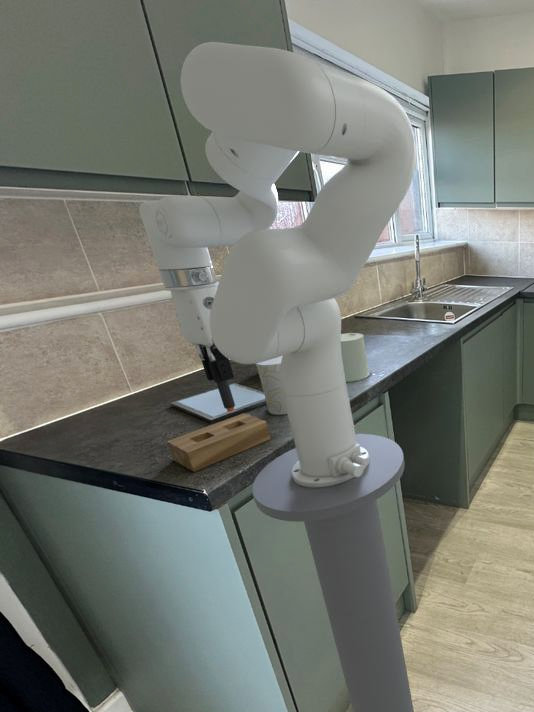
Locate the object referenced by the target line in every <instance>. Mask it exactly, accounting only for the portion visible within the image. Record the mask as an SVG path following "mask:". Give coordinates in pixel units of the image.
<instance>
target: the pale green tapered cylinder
mask: <svg viewBox="0 0 534 712" xmlns="http://www.w3.org/2000/svg"><path fill="white" fill-rule="evenodd" d="M364 337H365V336H364V334H363V333H360V332H347V333H341V354H342V362H343V368H344V374H345V379H346V383H351V382H358V381H361V380H365V379H366V378H368V377H369V376H370V375H371V373H370V369H369V364H368V363H369V362H368V358H367V351H366V345H365V338H364Z"/></svg>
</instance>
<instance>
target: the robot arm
mask: <svg viewBox="0 0 534 712" xmlns="http://www.w3.org/2000/svg"><path fill="white" fill-rule="evenodd" d="M180 91H181V93H182V98H183V100H184V103H185V105H186V107H187V110H188V111H189V113H190V115H191V116H192V117H193V118H194V119H195V120H196V121H197V122H198V123H199V124H200V125H201V126H202V127H204V128H205V129H207V130H209V131H211V133H210V134H209V136H208V137H207V139H206V142H205V148H204V151H205V156H206V159H207V161H208V163H209V165H210V166H211V168H212V169H213V171H215V173H216V174H217V175H218V176H219V177H220V178H221V179H222V180H223V181H224V182H225V183H226V184H228V185H230V186H231V187H233V188H234V189H236V190H237V191H238V193H236V195H234V196H233V197H230V196H229V197H228V196H211V195H210V196H208V195H207V196H205V195H196V196H195V195H168V196H164V197H161V198H160V199H158V200H148V201H144V202H142V203H141V204H140V205H139V208H138V211H139V216H140V218H141V221H142V224H143V225H142V226H143V227H144V230H145V233H146V236H147V239H148V242H149V245H150V248H151V251H152V254H153V257H154V261H155V263H156V266H157V269H158V272H159V275H160V278H161V281H162V284H163V287H164V290H165V291H168V292H169V291H170V295H171V299H172V303H173V307H174V311H175V314H176V315H175V316H176V318H177V321H178V324H179V328H180V329H181V333H182V335H183V338H184V339H185V341H187V342H190V343H191V344H192V345H193V346H195V348H196V350H197V353H198V356H199V359H200V360H201V364H202V366H203V367H202V368H203V370H204V373H205V376H206V379H207V380H208V381H214V383H216V382H217V383H219V382H222V381H225V380H228V381H229V380H232V379H234V378H235V375H234V371H233V368H232V364H231V362H234V363H237V364H241V365H254V364H255V363H260V362H264V361H267V360H271V359H274V358H277V357H280V356H283V357H282V360H281V365H280V372H279V379H280V385H281V389H282V394H283V398H284V402H285V406H286V410H287V414H286V415H287V418H288V422H289V426H290V430H291V434H292V438H293V442H294V447H295V448H296V451H297V455H298V459H299V460H298V461H297V462H296V463H295V465H294V466H293V468H292V470H291V474H292V478H293V480H294V481H295V482H296V483H297V484H299V485H301V486H304V487H310V488H319V487H328V486H333V485H336V484H340V483H343V482H345V481H348V480H350V479H352V478H354V477H359V476H361V475H362V474H363V471H364V469H365V468H366V467H367V466H368V464H369V462H370V460H369V454H368V452H367V450H366V449H364V448H362V447H360V445H359V444H357V440H356V434H357V433H356V429H355V423H354V419H353V413H352V408H351V402H350V397H349V391H348V386H347V382H346V379H345V374H344V368H343V362H342V354H341V334H342V315H341V310H340V307H339V304H338V302H337V300H336V298H339V297H342V296H343V295H345V294H347V293H348V292H349V291H350V290H351V289H352V287H353V286H354V284H355V283H356V281H357V279H358V278H359V276H360V274H361V272H362V271H363V269H364V268H365V265H366V263H367V261H368V259H369V258H370V257H371V254H372V252H373V251H374V249H375V248H376V245H377V243H378V241H379V239H380V238H381V235H382V234H383V233H384V230H385V229H386V227H387V225H388V224H389V222H390V220H391V219H392V218H393V216H394V214H395V213H396V212H397V210H398V209H399V207H400V206H401V204H402V202H403V201H404V199H405V197H406V195H407V193H408V191H409V189H410V187H411V185H412V182H413V179H414V175H415V171H416V164H417V144H416V137H415V133H414V129H413V125H412V123H411V121H410V118H409V115H408V114H407V112H406V111H405V109H404V107H403V106H402V104H401V103H400V102H399V101H398V100H397V99H396V98H395V97H394V96H393V95H391V94H390V93H389V92H388V91H386V90H385V89H383V88H382V87H380V86H379V85H377V84H375V83H373V82H371V81H368V80H367V79H364V78H362V77H359V76H357V75H355V74H352V73H349V72H346V71H343V70H340V69H338V68H336V67H333V66H330V65H327V64H325V63H323V62H320V61H318V60H315V59H313V58H310V57H307V56H306V55H301V54H299V53H296V52H294V51H289V50H286V49H281V48H276V47H269V46H260V45H259V46H257V45H256V46H255V45H247V44H237V43H228V42H221V41H219V42H218V41H209V42H208V41H207V42H203V43H201V44H198V45H195V47H194V48H193V49H191V51H190V52H189V53H188V55H186V56H185V59H184V62H183V64H182V67H181V71H180ZM299 153H305V154H310V155H311V154H312V155H318V156H324V157H330V158H336V159H343V160H347V161H346V164H345V165H344V166H343V167H342V168H341V169H340V170H339V171H338V172H336V173H335V174H334V175H333V176H332V177H330V178H329V179H328V180H327V182H325V184H323V186H322V187H321V188H320V190H319V191H318V193H317V195H316V196H315V199H314V201H313V204H312V207H311V209H310V210H309V211H310V212H308V215H307V217H306V218H305V220H304V221H303V222H302V223H301V224H300V225H296V226H294V227H288V228H287V227H286V228H285V227H284V228H271V226H272V225H273V224H274V223H275V221H276V219H277V216H278V212H279V211H278V210H279V196H278V191H277V188H276V185H275V183H276V182H277V180H278V179H280V177H281V175H282V174H283V173H284V171H286V169H287V168H288V167H289V165H290V164H291V163H292V161H294V159H295V158H296V157H297V156H298V154H299ZM214 247H216V248H217V247H231V248H230V250H229V252H228V255H227V258H226V260H225V263H224V267H223V269H222V273H221V276H220V279H219V281H218V278H217V275H216V272H215V269H214V266H213V261H212V258H211V255H210V254H211V253H210V252H209V248H214ZM213 350H214V351H213ZM207 352H208V355H207ZM208 356H209V358H208ZM209 359H210V361H211V362H210V361H209ZM230 361H231V362H230ZM217 383H216V384H217Z"/></svg>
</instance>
